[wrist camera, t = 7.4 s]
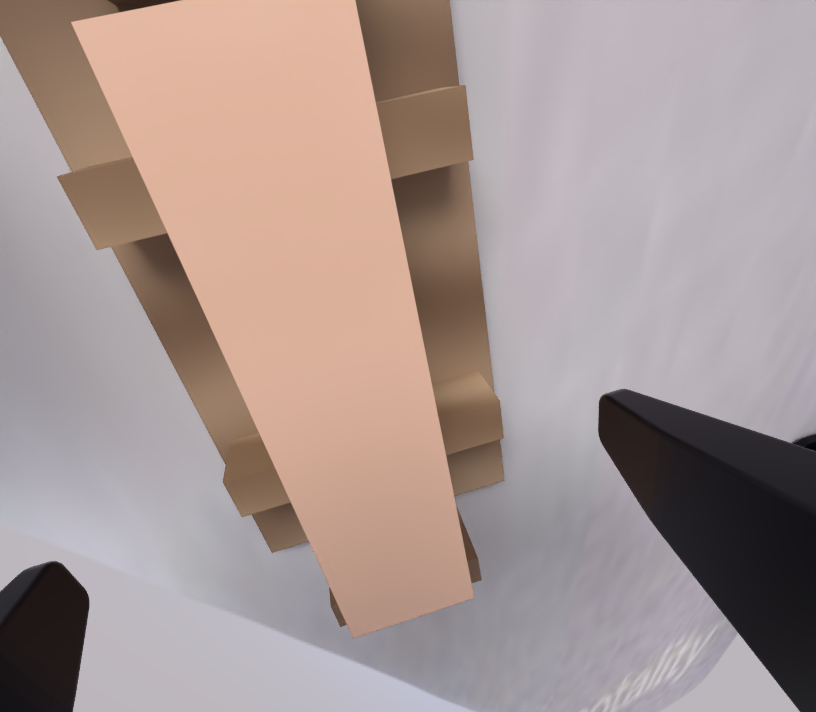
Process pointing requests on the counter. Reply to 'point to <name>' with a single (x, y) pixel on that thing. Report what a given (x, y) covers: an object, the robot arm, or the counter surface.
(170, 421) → the counter surface
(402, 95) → the rack
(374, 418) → the long rectangular block
